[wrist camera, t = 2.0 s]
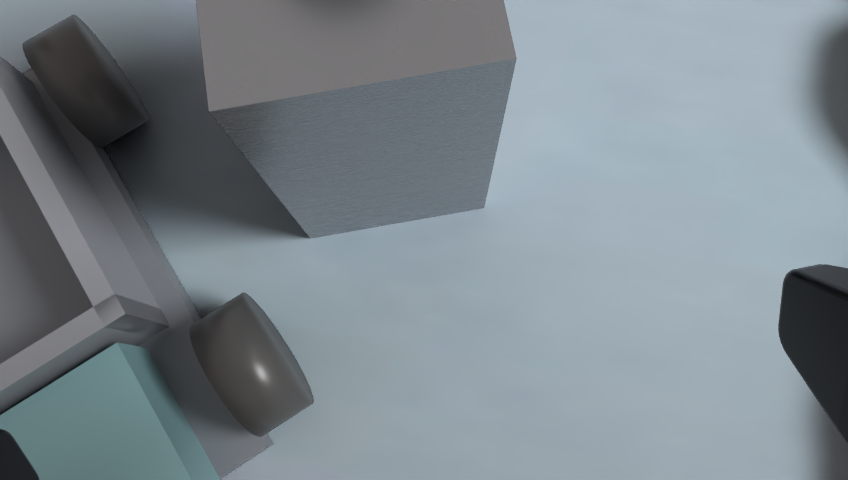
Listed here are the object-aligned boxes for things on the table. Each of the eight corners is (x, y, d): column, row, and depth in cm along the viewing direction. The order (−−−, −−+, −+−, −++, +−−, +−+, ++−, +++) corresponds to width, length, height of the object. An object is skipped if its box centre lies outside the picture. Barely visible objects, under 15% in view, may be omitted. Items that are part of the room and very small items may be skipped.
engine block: (484, 208, 22) (529, -5, 11) (310, 238, 22) (166, 58, 11) (449, 35, 24) (456, -320, 12) (285, 63, 24) (132, -267, 12)
